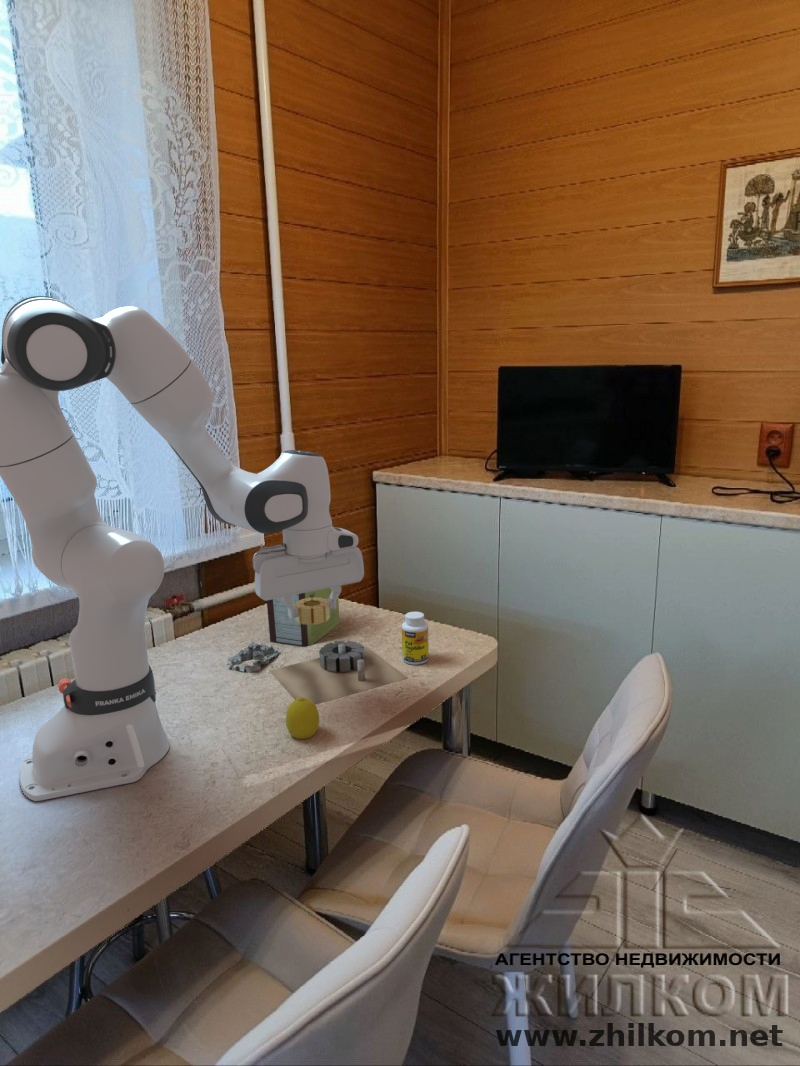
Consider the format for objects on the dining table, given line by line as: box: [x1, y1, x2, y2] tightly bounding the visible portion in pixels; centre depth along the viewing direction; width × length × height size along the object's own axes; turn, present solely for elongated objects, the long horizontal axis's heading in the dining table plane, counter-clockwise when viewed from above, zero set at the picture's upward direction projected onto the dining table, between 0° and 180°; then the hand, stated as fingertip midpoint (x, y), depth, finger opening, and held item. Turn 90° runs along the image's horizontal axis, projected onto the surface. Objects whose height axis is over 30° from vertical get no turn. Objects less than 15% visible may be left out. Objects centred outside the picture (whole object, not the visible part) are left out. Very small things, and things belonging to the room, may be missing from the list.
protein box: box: [266, 588, 340, 648], centre depth 162 cm, size 10×15×16 cm
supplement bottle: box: [401, 611, 430, 666], centre depth 147 cm, size 6×6×10 cm
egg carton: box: [226, 641, 280, 673], centre depth 146 cm, size 11×8×4 cm
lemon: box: [285, 697, 320, 740], centre depth 118 cm, size 6×6×8 cm
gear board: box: [269, 644, 408, 705], centre depth 139 cm, size 22×18×6 cm
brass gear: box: [295, 597, 330, 625], centre depth 129 cm, size 6×6×3 cm
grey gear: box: [318, 640, 365, 672], centre depth 144 cm, size 9×9×3 cm
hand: (312, 612), depth 129 cm, fingers closed on brass gear, 6 cm apart
